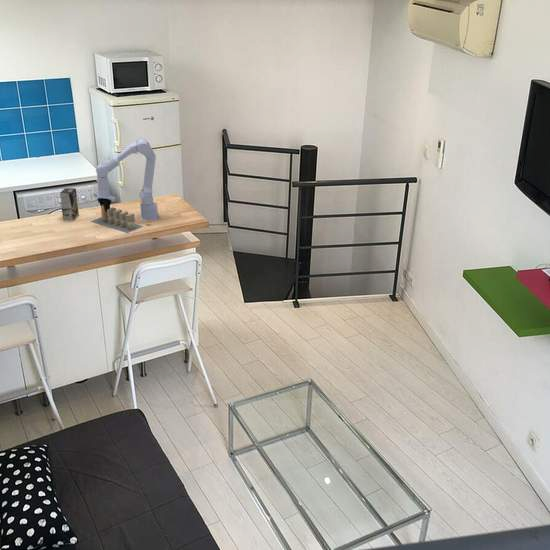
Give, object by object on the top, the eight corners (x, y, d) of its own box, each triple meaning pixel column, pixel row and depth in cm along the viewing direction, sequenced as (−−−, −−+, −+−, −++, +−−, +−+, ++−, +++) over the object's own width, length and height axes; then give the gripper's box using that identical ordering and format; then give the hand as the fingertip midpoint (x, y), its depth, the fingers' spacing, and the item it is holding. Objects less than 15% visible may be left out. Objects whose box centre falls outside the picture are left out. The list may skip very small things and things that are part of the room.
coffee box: (74, 221, 342) (71, 193, 334) (62, 221, 342) (59, 193, 335) (79, 215, 350) (76, 188, 343) (68, 215, 350) (64, 187, 343)
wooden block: (120, 227, 335) (119, 213, 331) (126, 224, 338) (125, 210, 335) (123, 228, 334) (121, 214, 330) (129, 225, 337) (128, 211, 334)
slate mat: (90, 222, 341) (90, 221, 341) (106, 215, 350) (106, 215, 350) (127, 233, 328) (127, 233, 328) (143, 227, 337) (143, 226, 337)
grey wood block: (108, 223, 339) (107, 209, 336) (114, 221, 343) (113, 207, 339) (110, 224, 338) (109, 210, 335) (117, 221, 342) (115, 208, 338)
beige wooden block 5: (126, 229, 333) (125, 215, 329) (132, 226, 336) (131, 212, 332) (129, 230, 332) (128, 215, 328) (135, 227, 335) (134, 213, 332)
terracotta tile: (102, 219, 341) (100, 205, 337) (108, 216, 344) (107, 203, 341) (104, 220, 340) (103, 206, 336) (110, 217, 343) (109, 204, 340)
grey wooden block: (114, 225, 337) (113, 211, 333) (120, 222, 340) (119, 209, 337) (117, 226, 336) (115, 212, 332) (123, 223, 339) (121, 209, 336)
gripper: (88, 186, 335) (90, 210, 341) (107, 191, 328) (109, 215, 334) (98, 183, 340) (100, 206, 346) (117, 188, 333) (119, 212, 339)
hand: (105, 211), depth 340 cm, fingers closed on terracotta tile, 1 cm apart
